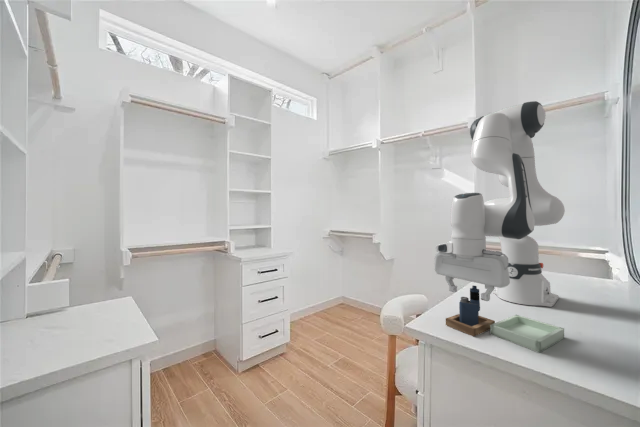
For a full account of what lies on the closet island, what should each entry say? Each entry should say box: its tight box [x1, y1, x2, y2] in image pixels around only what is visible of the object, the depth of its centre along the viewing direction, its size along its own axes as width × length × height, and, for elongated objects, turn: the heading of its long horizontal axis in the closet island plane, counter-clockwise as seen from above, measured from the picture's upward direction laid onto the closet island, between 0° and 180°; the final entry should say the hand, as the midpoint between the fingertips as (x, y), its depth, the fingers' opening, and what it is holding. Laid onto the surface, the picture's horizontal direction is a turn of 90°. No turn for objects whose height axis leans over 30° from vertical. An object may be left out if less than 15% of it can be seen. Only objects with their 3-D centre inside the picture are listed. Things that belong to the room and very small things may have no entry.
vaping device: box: [458, 285, 481, 326], centre depth 74 cm, size 3×5×12 cm, turn 53°
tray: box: [489, 314, 565, 354], centre depth 68 cm, size 14×11×2 cm
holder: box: [445, 313, 496, 337], centre depth 74 cm, size 10×8×2 cm
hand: (468, 295), depth 74 cm, fingers open, 8 cm apart
